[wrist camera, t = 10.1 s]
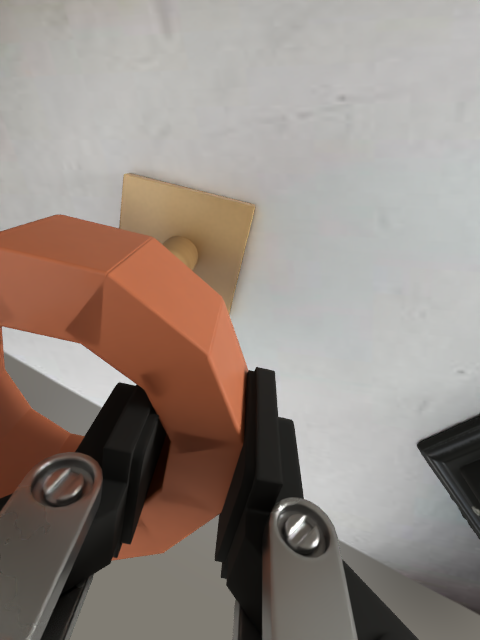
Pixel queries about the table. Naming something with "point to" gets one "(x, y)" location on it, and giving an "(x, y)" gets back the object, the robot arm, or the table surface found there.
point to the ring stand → (191, 227)
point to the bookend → (458, 466)
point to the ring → (128, 361)
